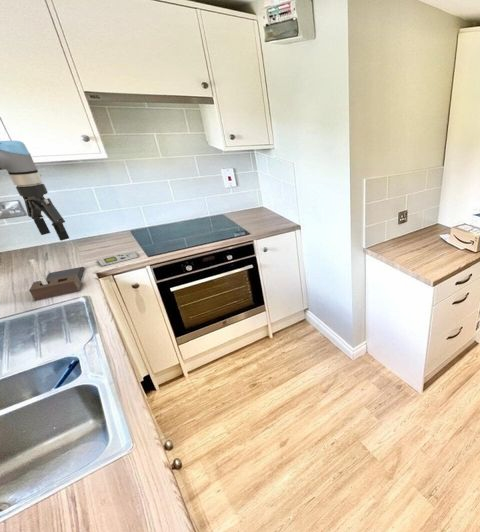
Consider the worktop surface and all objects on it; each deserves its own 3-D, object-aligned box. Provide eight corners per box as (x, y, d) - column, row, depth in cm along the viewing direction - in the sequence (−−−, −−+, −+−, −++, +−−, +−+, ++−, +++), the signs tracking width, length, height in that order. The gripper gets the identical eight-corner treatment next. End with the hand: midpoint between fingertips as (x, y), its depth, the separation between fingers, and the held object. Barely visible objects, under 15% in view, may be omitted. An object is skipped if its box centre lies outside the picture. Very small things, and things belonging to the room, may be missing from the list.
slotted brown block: (78, 291, 138) (73, 281, 136) (35, 300, 131) (29, 290, 129) (81, 283, 144) (76, 273, 142) (39, 292, 137) (33, 281, 135)
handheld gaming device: (137, 255, 168) (101, 264, 158) (138, 256, 169) (101, 266, 159) (133, 250, 174) (97, 259, 163) (133, 252, 174) (98, 260, 164)
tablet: (42, 289, 139) (41, 287, 138) (50, 274, 150) (49, 272, 150) (79, 282, 145) (78, 279, 145) (84, 268, 157) (83, 266, 156)
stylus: (47, 294, 135) (28, 260, 128) (48, 293, 136) (29, 259, 129) (52, 293, 136) (34, 260, 129) (53, 292, 137) (34, 258, 130)
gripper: (61, 186, 121) (84, 238, 130) (25, 179, 129) (49, 228, 138) (34, 190, 114) (61, 245, 124) (-2, 182, 122) (26, 234, 132)
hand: (55, 236), depth 131 cm, fingers open, 13 cm apart
